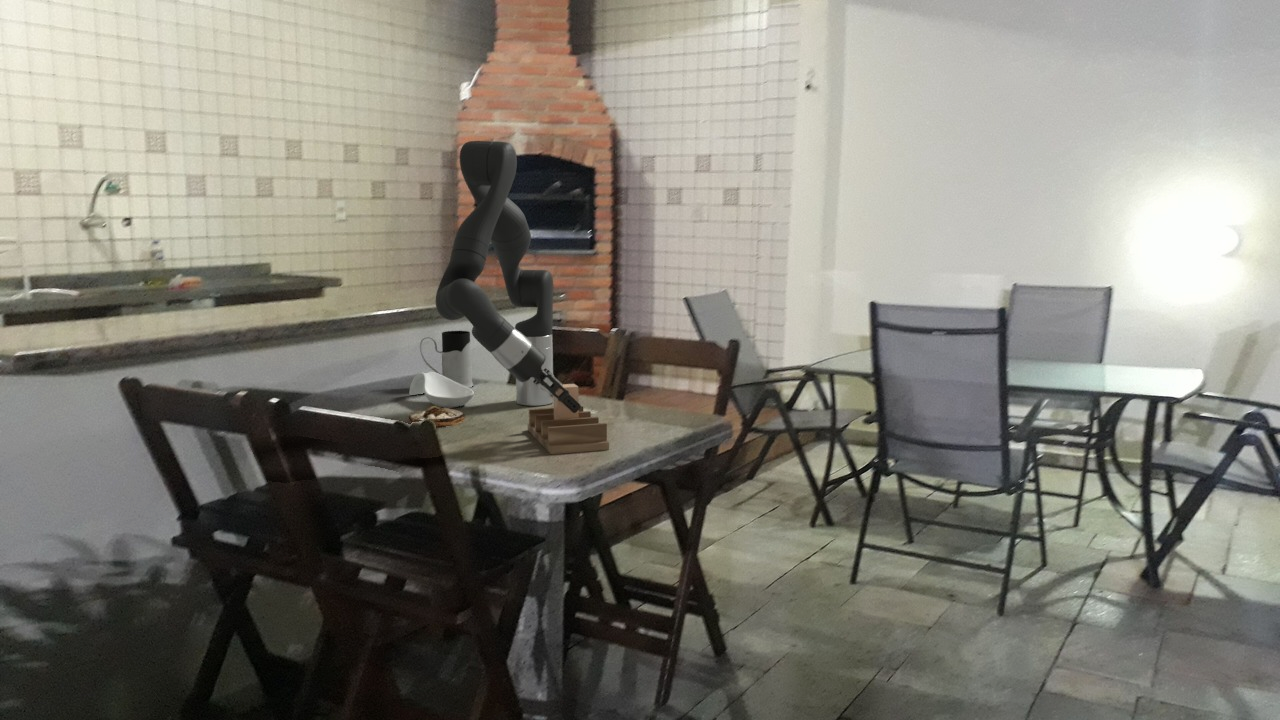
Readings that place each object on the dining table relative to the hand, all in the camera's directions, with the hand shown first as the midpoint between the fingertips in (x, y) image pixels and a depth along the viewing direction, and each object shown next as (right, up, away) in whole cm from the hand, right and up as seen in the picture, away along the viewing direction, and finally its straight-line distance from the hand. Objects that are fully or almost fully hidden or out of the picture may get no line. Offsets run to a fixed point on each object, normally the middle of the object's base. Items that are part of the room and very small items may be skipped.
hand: (572, 405), depth 197 cm
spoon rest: (-37, -1, +40) cm, 54 cm away
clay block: (-1, -6, 0) cm, 6 cm away
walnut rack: (-1, -7, +1) cm, 7 cm away
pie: (-32, -5, +18) cm, 37 cm away
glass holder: (-39, +2, +60) cm, 72 cm away
